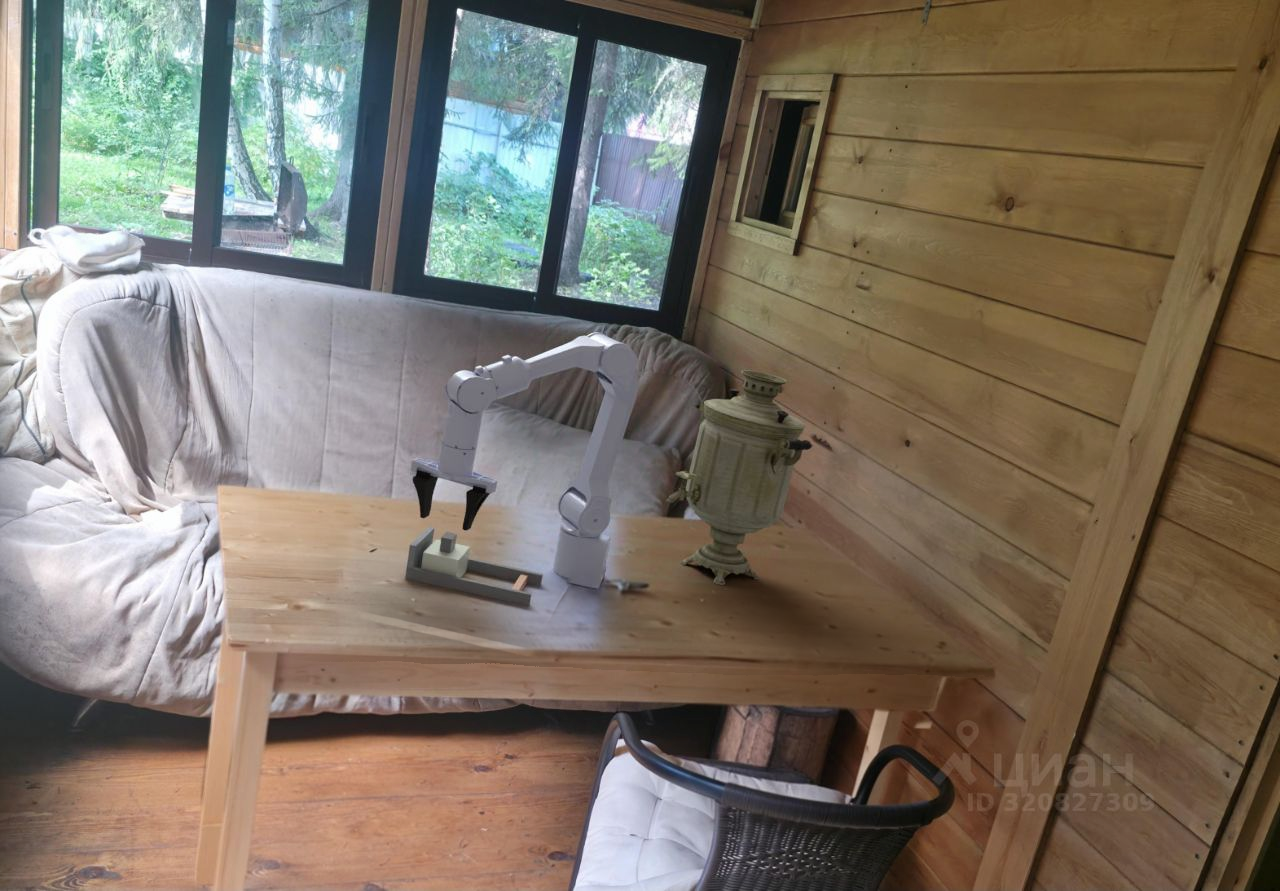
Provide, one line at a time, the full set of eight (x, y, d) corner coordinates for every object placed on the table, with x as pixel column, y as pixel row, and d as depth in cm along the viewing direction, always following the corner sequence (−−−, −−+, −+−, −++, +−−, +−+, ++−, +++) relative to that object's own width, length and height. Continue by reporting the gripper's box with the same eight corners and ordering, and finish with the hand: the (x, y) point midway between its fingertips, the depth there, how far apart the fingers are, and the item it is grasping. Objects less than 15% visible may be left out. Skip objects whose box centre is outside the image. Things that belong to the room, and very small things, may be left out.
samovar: (621, 537, 209) (658, 349, 199) (735, 545, 218) (775, 365, 208) (670, 597, 182) (715, 383, 172) (797, 603, 191) (847, 400, 181)
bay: (541, 586, 175) (547, 550, 174) (526, 612, 164) (533, 574, 162) (425, 561, 177) (430, 524, 175) (402, 585, 165) (407, 546, 163)
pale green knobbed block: (466, 571, 174) (472, 533, 172) (454, 585, 167) (460, 545, 165) (432, 563, 174) (438, 525, 172) (419, 577, 167) (425, 538, 165)
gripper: (407, 437, 162) (394, 516, 165) (491, 460, 159) (476, 540, 162) (426, 430, 168) (414, 506, 171) (507, 452, 166) (492, 529, 169)
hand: (445, 522), depth 167 cm, fingers open, 7 cm apart
